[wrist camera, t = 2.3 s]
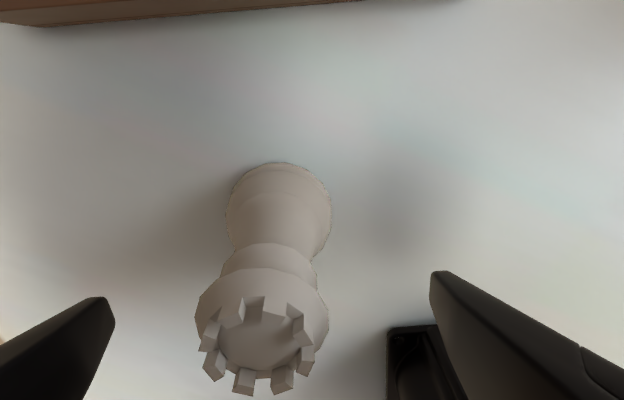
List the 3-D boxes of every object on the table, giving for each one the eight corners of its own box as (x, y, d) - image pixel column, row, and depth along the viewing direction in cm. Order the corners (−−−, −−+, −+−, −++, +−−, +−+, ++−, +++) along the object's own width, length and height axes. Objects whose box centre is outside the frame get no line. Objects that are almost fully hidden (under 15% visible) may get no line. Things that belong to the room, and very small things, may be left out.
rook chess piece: (299, 265, 16) (295, 445, 8) (213, 223, 15) (122, 384, 7) (350, 191, 14) (401, 327, 7) (259, 139, 13) (204, 231, 6)
